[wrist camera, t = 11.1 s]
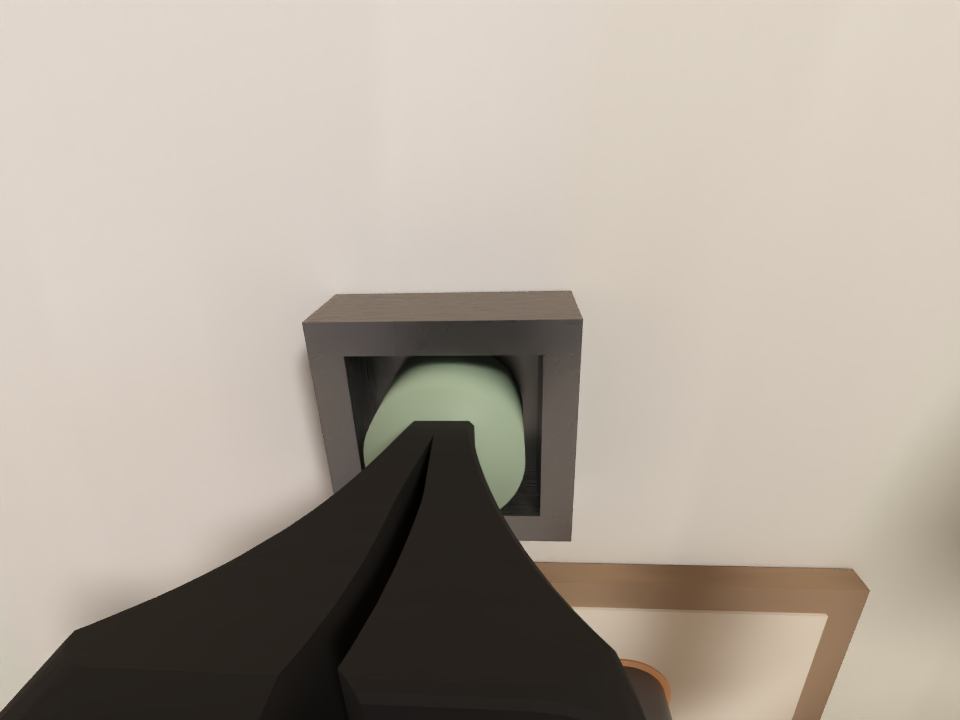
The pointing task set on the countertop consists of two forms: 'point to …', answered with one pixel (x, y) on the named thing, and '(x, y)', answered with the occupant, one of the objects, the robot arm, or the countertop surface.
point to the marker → (649, 694)
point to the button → (459, 412)
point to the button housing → (457, 332)
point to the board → (722, 632)
